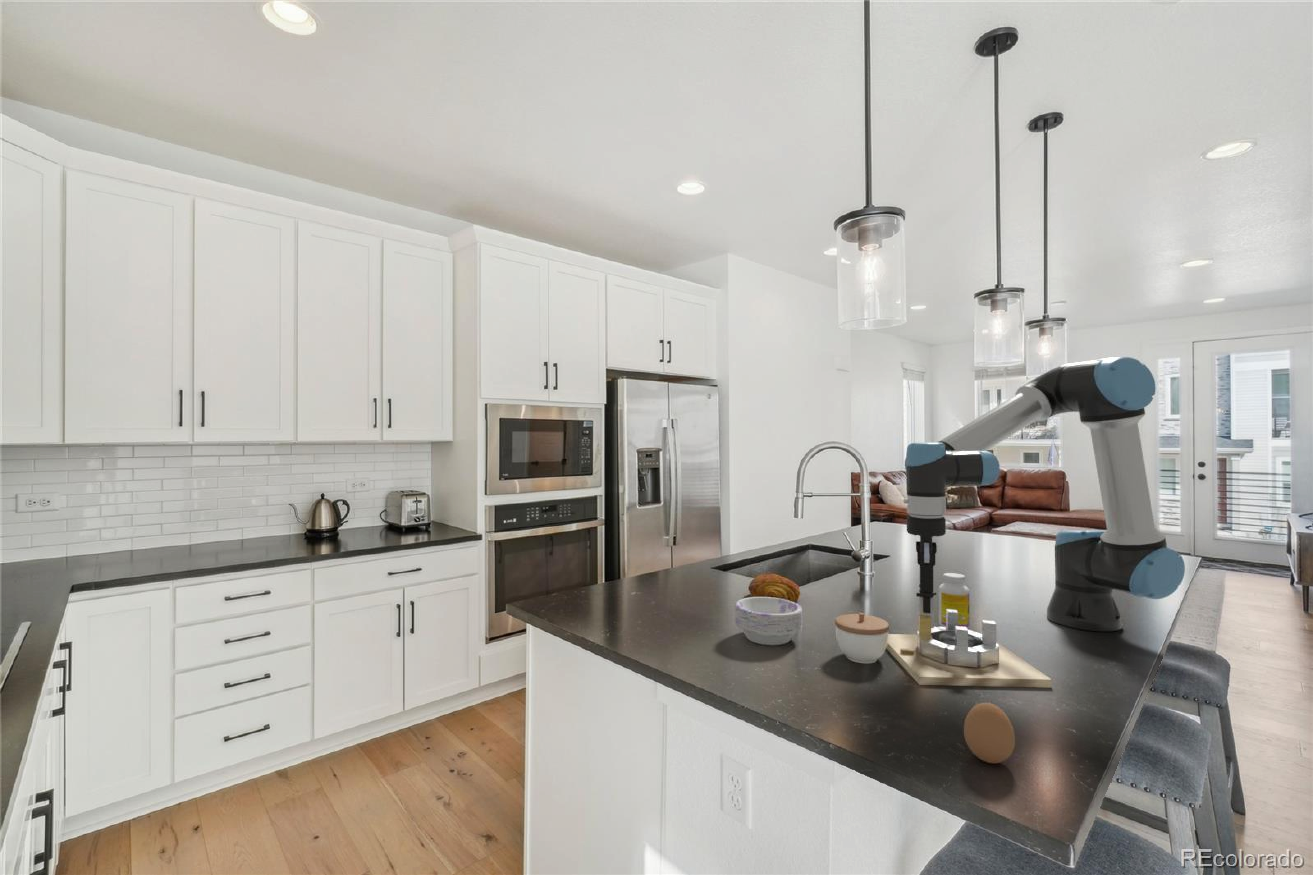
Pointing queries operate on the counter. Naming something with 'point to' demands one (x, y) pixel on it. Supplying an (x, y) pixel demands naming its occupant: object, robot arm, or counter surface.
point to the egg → (989, 733)
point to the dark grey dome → (953, 639)
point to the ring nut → (958, 642)
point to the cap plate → (964, 668)
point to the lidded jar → (862, 637)
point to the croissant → (774, 587)
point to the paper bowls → (768, 619)
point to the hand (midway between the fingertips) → (926, 626)
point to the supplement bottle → (954, 599)
